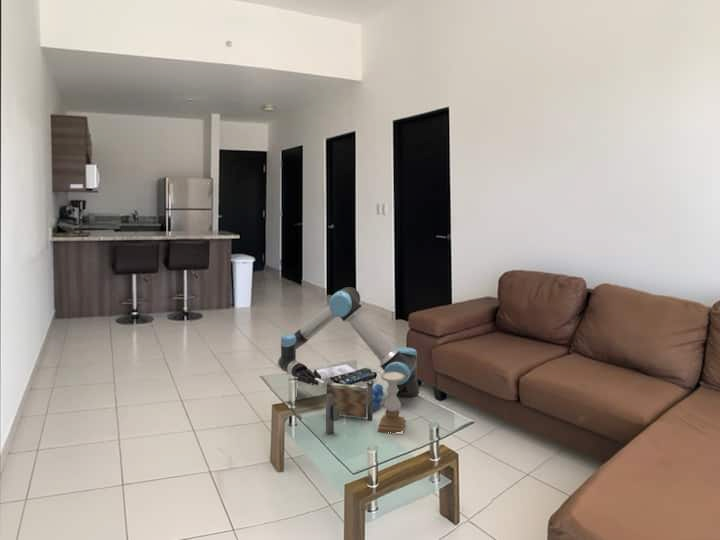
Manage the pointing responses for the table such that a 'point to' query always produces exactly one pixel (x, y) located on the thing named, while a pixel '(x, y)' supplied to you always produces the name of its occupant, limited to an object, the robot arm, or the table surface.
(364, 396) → the gate
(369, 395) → the hinge post
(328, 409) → the post
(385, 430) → the candle holder
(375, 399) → the grapes
